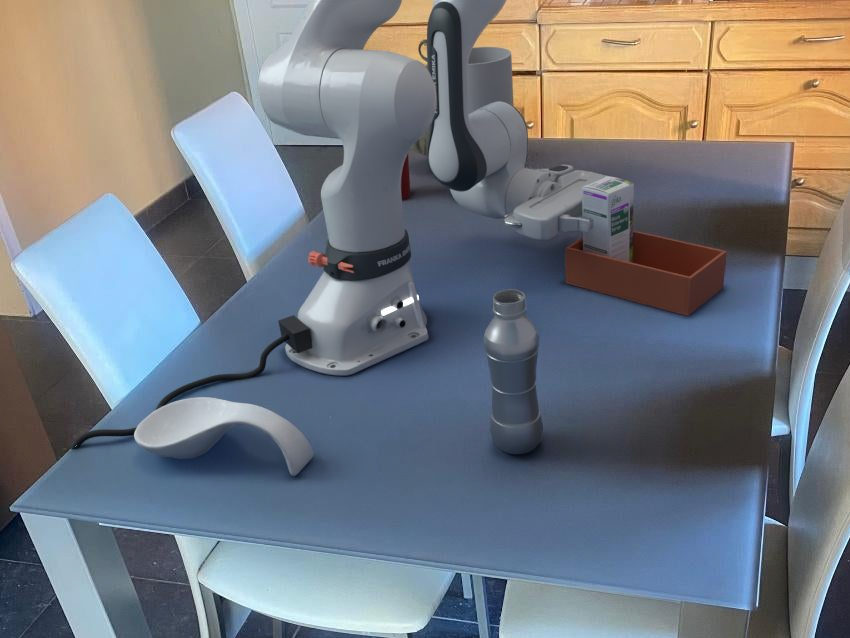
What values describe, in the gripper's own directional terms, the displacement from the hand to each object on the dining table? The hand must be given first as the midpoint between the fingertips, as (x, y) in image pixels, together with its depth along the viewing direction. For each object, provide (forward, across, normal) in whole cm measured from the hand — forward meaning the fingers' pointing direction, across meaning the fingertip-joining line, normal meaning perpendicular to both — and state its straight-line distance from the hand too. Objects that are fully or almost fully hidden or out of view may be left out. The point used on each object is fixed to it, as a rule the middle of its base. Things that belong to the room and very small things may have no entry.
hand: (608, 215), depth 144 cm
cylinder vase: (-41, +20, +10) cm, 47 cm away
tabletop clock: (-58, +26, +10) cm, 65 cm away
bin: (+7, 0, +10) cm, 12 cm away
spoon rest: (-13, -68, +10) cm, 70 cm away
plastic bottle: (+17, -46, +10) cm, 50 cm away
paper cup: (-56, +10, +10) cm, 58 cm away
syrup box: (0, 0, +10) cm, 10 cm away
